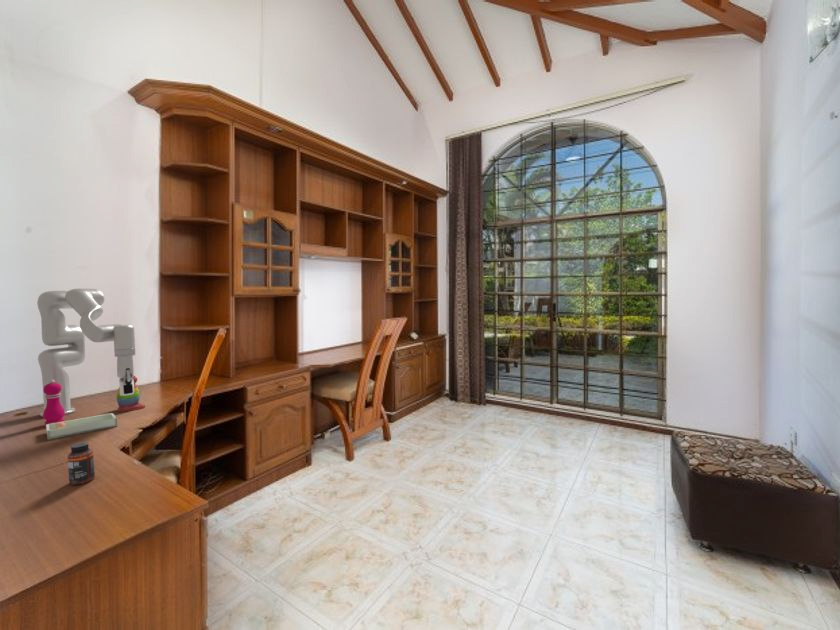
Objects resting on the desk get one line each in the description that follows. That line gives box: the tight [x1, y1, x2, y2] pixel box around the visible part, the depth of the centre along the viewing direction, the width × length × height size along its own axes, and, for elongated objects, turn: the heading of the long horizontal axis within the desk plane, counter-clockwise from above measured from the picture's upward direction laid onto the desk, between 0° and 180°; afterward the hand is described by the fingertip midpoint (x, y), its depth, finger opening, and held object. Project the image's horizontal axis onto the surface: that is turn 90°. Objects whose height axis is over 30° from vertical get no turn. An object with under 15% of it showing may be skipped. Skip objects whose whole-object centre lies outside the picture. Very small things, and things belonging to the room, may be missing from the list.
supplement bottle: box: [67, 441, 96, 486], centre depth 120 cm, size 6×6×11 cm
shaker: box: [118, 378, 134, 396], centre depth 180 cm, size 5×5×7 cm
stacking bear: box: [116, 375, 146, 412], centre depth 199 cm, size 11×10×18 cm
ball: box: [55, 422, 66, 429], centre depth 166 cm, size 3×3×3 cm
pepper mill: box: [42, 380, 66, 427], centre depth 176 cm, size 7×7×20 cm
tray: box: [45, 412, 118, 441], centre depth 168 cm, size 12×22×4 cm, turn 135°
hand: (127, 392), depth 180 cm, fingers closed on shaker, 5 cm apart
